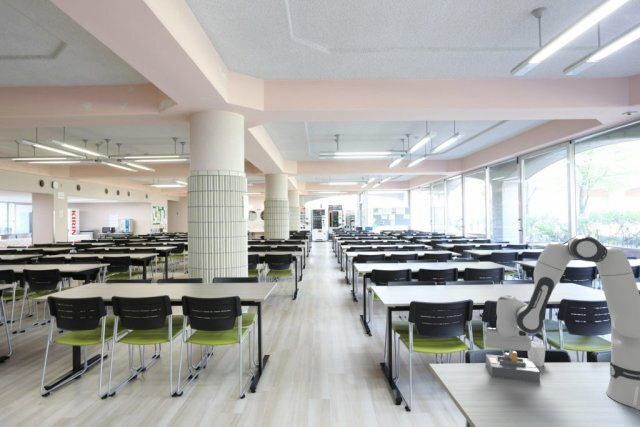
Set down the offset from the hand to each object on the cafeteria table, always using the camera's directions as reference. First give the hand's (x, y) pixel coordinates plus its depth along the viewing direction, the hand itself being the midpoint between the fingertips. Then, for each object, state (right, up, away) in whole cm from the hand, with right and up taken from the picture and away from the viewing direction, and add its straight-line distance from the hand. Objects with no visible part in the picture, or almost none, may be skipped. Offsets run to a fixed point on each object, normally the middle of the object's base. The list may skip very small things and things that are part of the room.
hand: (506, 357), depth 163 cm
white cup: (+20, -7, +9) cm, 23 cm away
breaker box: (+2, -7, 0) cm, 8 cm away
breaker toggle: (+3, -2, -1) cm, 4 cm away
